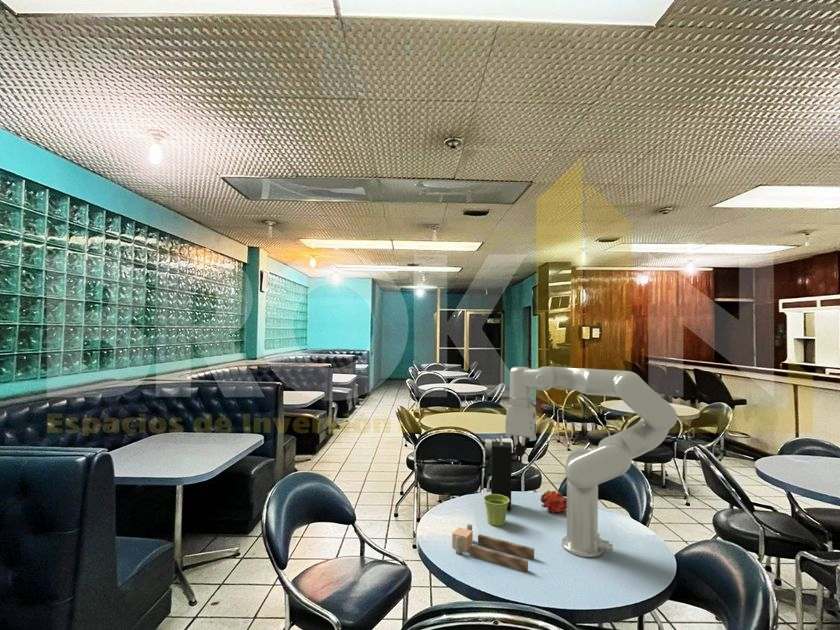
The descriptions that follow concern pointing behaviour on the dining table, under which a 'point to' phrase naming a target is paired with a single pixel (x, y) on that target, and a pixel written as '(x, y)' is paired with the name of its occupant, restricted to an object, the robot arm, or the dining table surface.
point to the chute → (497, 556)
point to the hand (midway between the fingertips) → (520, 455)
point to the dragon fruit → (554, 501)
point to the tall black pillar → (501, 469)
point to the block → (463, 538)
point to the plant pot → (496, 508)
